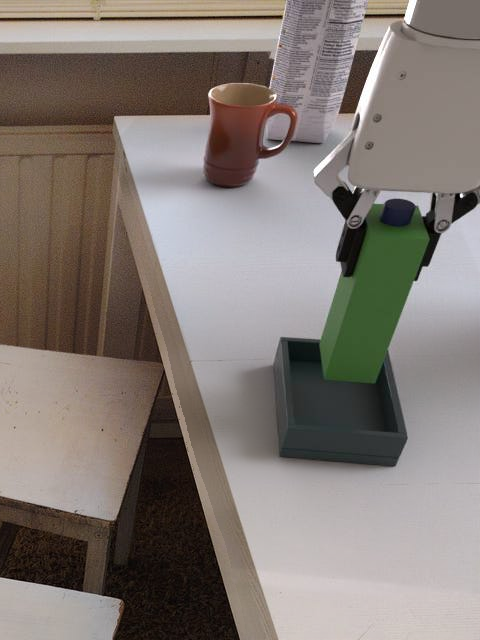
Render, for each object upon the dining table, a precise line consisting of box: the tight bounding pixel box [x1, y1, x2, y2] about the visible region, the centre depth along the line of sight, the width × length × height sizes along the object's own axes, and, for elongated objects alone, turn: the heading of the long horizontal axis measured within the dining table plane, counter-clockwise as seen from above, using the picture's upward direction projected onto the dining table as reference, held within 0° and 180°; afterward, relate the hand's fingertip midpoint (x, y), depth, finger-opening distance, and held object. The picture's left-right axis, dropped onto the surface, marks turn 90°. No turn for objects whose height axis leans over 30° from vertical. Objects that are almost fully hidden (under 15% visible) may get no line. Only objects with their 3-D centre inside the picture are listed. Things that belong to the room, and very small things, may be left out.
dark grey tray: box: [272, 336, 409, 467], centre depth 79 cm, size 15×10×3 cm
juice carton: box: [265, 0, 369, 144], centre depth 114 cm, size 9×10×27 cm
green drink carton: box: [319, 198, 429, 383], centre depth 71 cm, size 6×4×14 cm
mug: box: [202, 82, 298, 188], centre depth 110 cm, size 12×9×10 cm
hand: (378, 269), depth 69 cm, fingers closed on green drink carton, 4 cm apart
